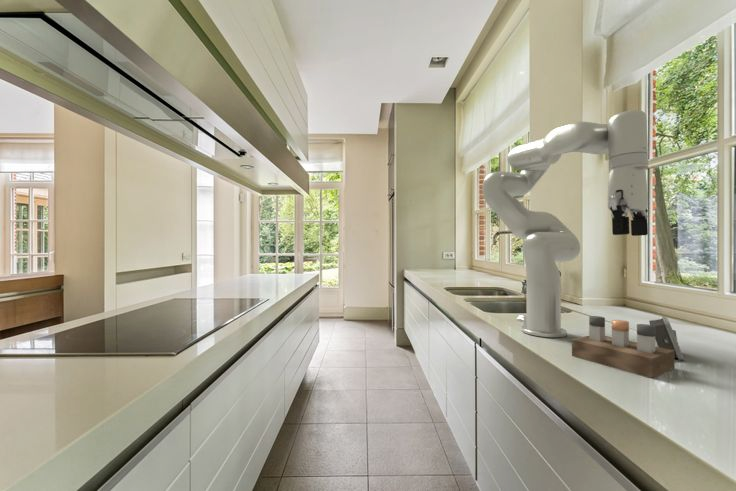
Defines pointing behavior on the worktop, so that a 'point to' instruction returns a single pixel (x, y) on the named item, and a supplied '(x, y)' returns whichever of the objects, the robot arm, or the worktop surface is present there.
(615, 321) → the plug middle
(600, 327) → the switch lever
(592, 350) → the wooden socket board
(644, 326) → the plug right
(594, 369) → the worktop surface
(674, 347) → the electrical switch
